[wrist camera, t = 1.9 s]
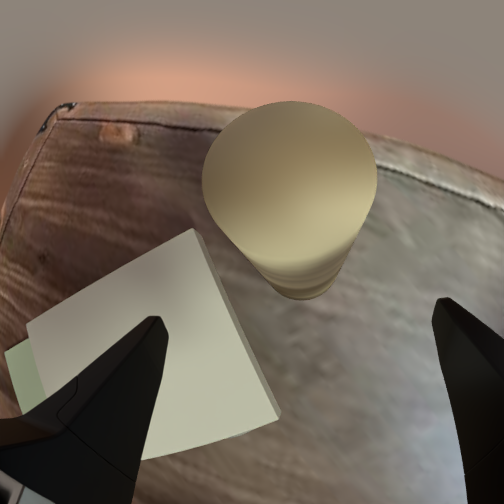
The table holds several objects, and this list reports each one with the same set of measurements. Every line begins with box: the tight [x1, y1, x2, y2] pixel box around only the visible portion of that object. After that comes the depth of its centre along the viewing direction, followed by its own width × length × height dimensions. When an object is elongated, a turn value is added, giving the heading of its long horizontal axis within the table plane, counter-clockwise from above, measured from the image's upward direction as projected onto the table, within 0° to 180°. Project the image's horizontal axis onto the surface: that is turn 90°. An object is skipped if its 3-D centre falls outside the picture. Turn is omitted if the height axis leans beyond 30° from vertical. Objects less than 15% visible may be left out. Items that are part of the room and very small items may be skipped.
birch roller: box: [202, 101, 377, 300], centre depth 15 cm, size 5×5×13 cm
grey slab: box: [26, 228, 281, 460], centre depth 19 cm, size 13×16×4 cm
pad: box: [4, 338, 47, 415], centre depth 22 cm, size 9×9×1 cm
